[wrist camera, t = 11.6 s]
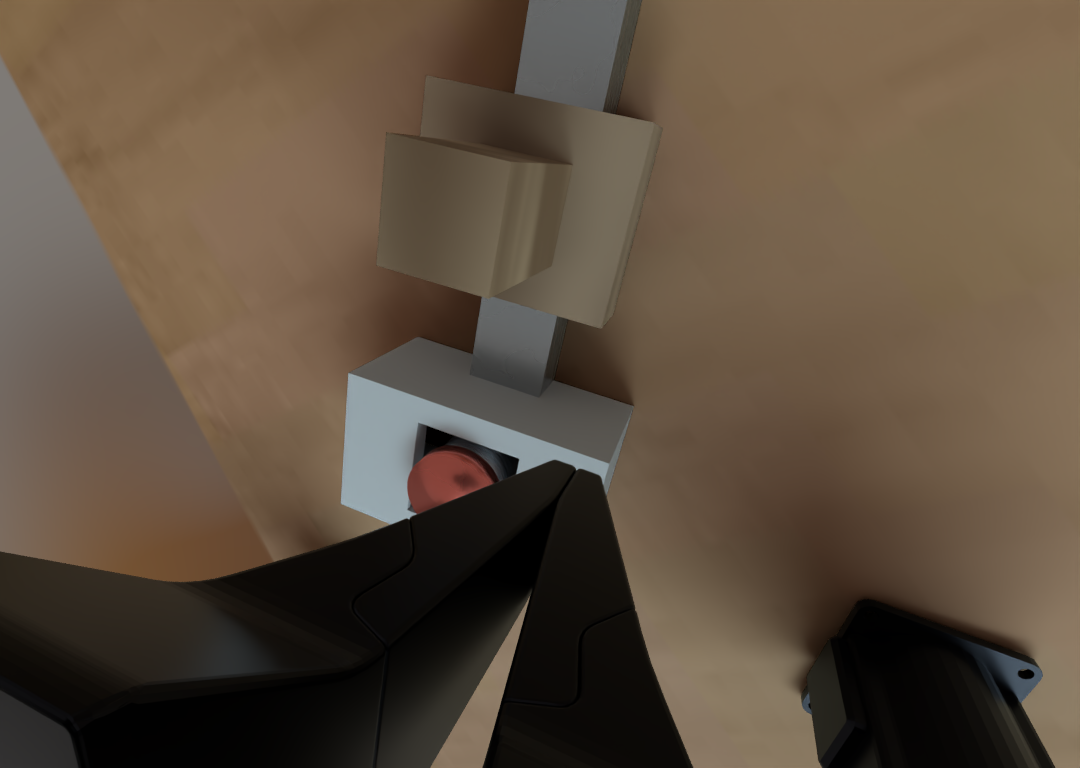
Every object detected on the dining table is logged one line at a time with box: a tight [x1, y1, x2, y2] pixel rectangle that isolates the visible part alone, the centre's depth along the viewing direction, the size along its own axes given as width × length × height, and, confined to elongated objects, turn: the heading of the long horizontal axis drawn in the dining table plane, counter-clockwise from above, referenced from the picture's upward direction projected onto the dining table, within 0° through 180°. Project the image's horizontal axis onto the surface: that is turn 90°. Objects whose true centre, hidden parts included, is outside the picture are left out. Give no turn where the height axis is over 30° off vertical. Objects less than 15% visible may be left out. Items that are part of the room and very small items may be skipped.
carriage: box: [376, 75, 663, 329], centre depth 16 cm, size 7×6×9 cm
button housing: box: [341, 337, 634, 524], centre depth 22 cm, size 10×6×5 cm, turn 78°
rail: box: [470, 0, 642, 398], centre depth 18 cm, size 3×22×2 cm, turn 168°
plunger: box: [407, 436, 519, 514], centre depth 22 cm, size 3×3×5 cm
